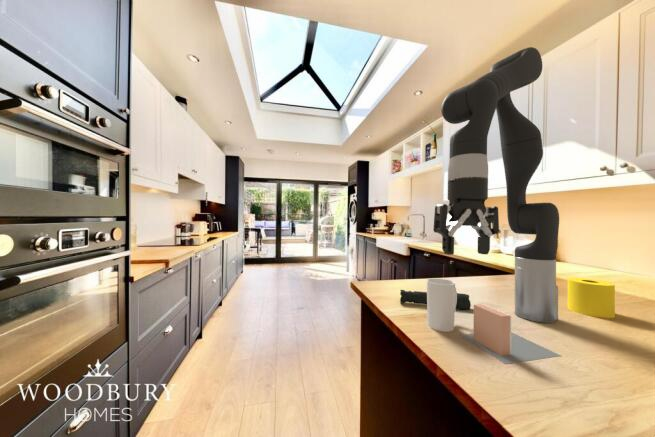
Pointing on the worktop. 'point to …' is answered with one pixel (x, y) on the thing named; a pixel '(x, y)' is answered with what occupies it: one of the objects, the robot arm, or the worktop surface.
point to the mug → (441, 304)
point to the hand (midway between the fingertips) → (466, 254)
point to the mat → (516, 350)
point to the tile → (492, 329)
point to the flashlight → (421, 298)
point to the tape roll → (591, 297)
